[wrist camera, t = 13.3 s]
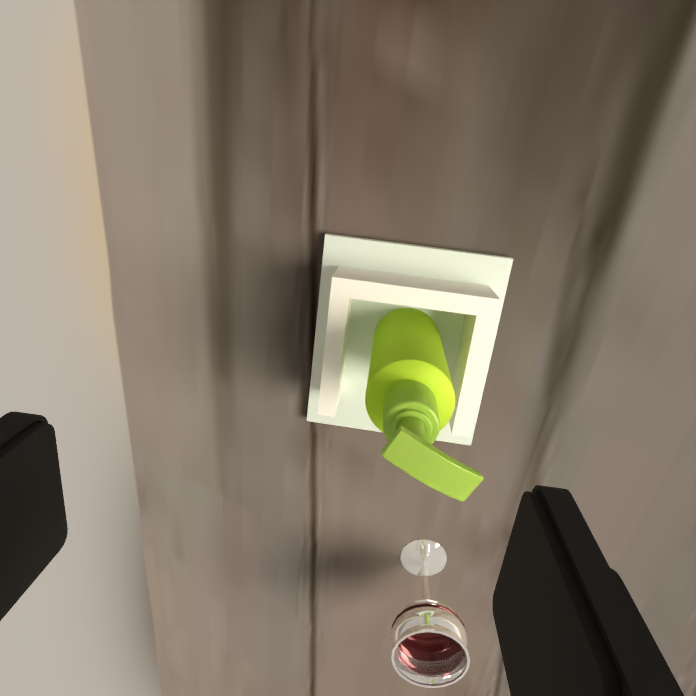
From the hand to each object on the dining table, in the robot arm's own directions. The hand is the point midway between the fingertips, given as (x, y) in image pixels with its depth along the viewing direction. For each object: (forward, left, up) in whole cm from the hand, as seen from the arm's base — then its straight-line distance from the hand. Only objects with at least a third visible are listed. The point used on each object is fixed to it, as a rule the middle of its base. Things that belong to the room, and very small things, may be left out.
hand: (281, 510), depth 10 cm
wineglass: (+32, +10, -36) cm, 49 cm away
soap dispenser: (+7, +5, -35) cm, 36 cm away
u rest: (+8, +4, -36) cm, 37 cm away
